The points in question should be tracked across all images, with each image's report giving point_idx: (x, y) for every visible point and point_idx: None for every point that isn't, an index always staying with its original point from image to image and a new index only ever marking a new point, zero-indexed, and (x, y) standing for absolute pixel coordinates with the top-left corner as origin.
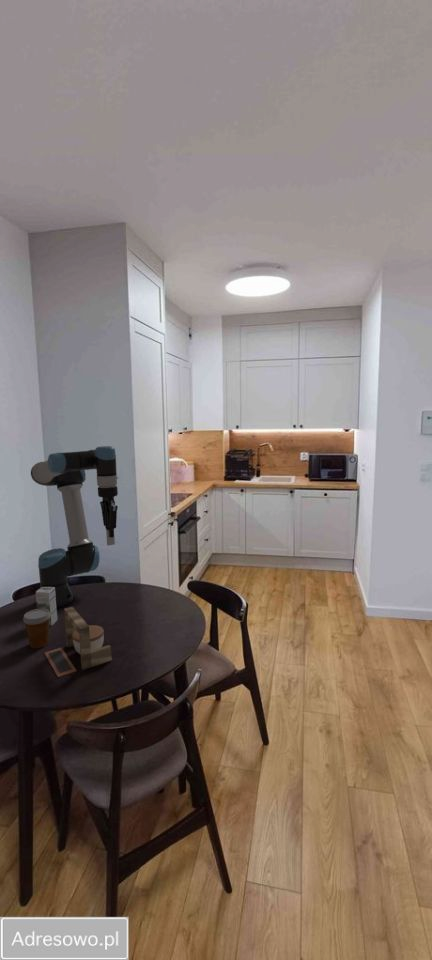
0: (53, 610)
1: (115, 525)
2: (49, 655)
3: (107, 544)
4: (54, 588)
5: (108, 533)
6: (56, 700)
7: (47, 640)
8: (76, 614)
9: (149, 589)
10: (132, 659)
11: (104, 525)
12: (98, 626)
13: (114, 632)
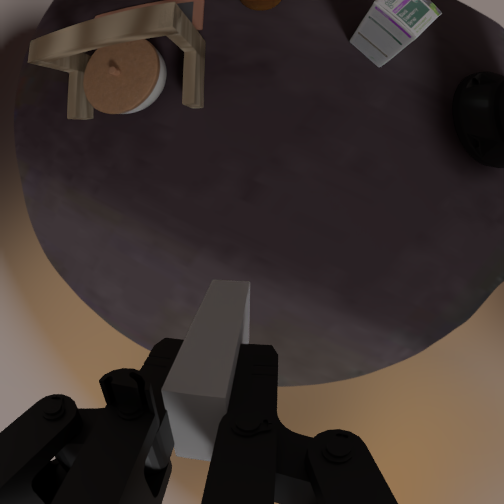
0: (372, 42)
1: (51, 468)
2: (183, 2)
3: (235, 283)
4: (411, 35)
5: (179, 360)
6: (45, 18)
7: (244, 3)
8: (106, 33)
9: (387, 354)
10: (68, 159)
11: (319, 437)
12: (128, 104)
13: (199, 165)
